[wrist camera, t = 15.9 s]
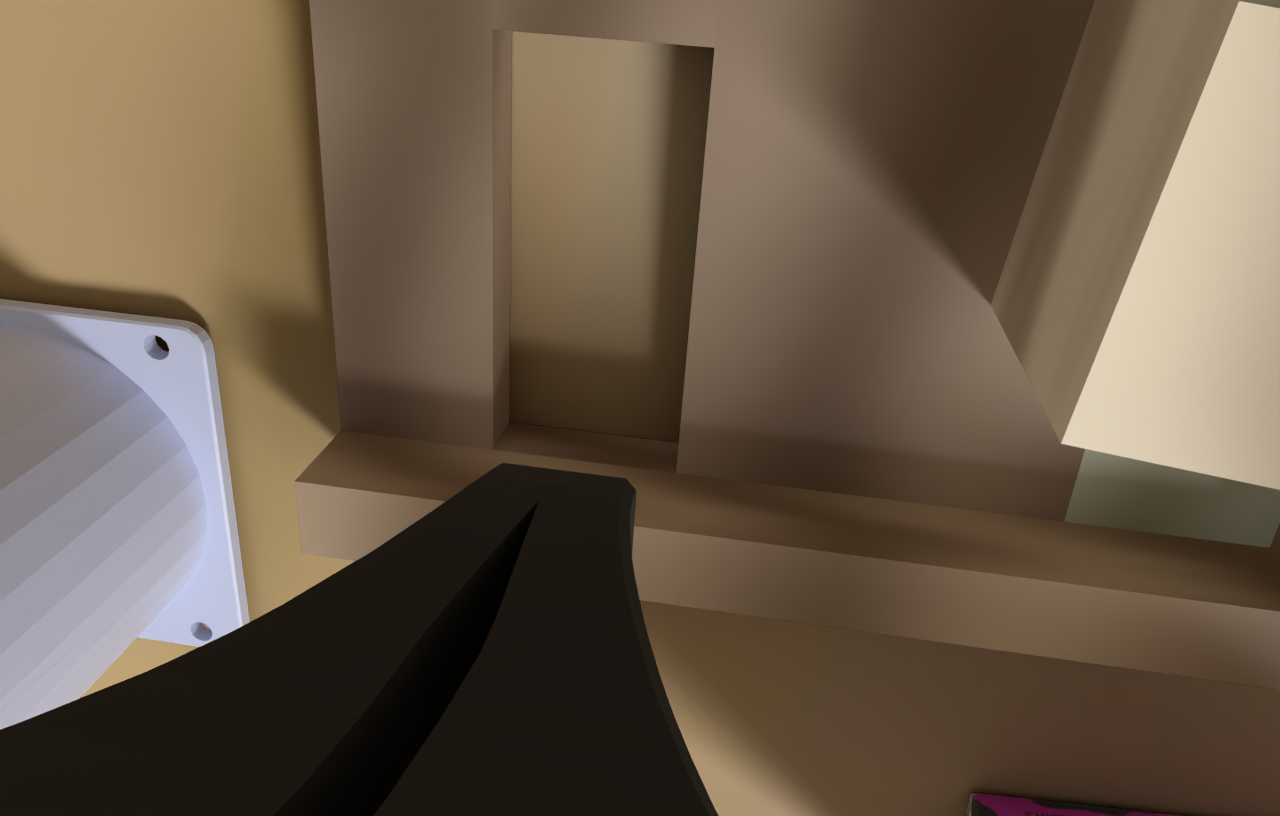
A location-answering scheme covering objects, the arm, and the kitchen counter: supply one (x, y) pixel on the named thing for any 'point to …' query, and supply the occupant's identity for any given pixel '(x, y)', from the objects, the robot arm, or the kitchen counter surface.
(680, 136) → the kitchen counter surface
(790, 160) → the board
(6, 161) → the kitchen counter surface
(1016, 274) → the block
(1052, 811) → the candy bar box
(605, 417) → the kitchen counter surface
